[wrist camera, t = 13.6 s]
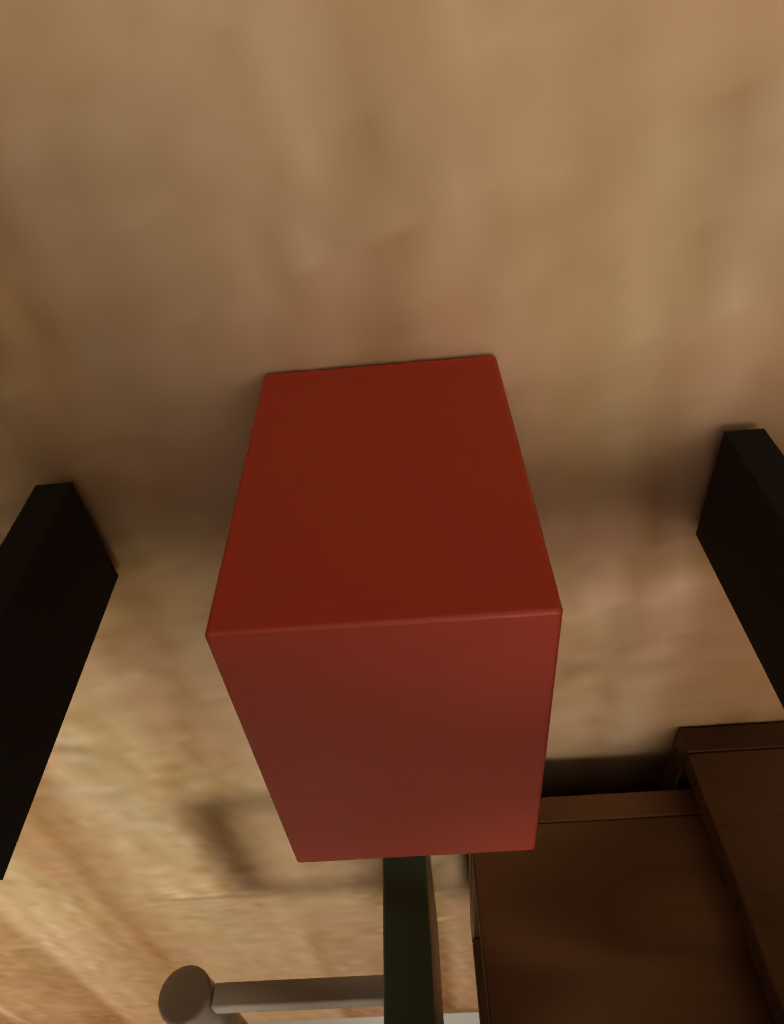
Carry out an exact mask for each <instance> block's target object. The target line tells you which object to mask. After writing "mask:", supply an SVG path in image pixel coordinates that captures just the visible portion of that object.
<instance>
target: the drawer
mask: <svg viewBox="0 0 784 1024" xmlns="http://www.w3.org/2000/svg"><path fill="white" fill-rule="evenodd" d="M469 884H470V922H471V934H472V942H473V955H474V966H475V976H476V987H477V998H478V1008H479V1019H480V1024H775V1021H774V1018H773V1016H772V1013H771V1010H770V1007H769V1004H768V1002H767V999H766V996H765V993H764V990H763V987H762V985H761V982H760V979H759V976H758V973H757V971H756V968H755V965H754V962H753V959H752V957H751V954H750V951H749V948H748V945H747V943H746V940H745V937H744V934H743V931H742V929H741V926H740V923H739V920H738V917H737V915H736V912H735V909H734V906H733V903H732V901H731V898H730V895H729V892H728V889H727V886H726V884H725V881H724V878H723V875H722V872H721V870H720V867H719V864H718V861H717V858H716V856H715V853H714V850H713V847H712V844H711V842H710V839H709V836H708V833H707V830H706V828H705V825H704V822H703V819H702V816H701V814H700V811H699V808H698V805H697V802H696V799H695V797H694V794H693V791H692V789H678V790H661V791H644V792H627V793H610V794H593V795H576V796H559V797H541V799H540V808H539V816H538V825H537V833H536V842H535V848H534V849H532V850H517V851H499V852H481V853H469ZM383 957H384V975H369V976H348V977H328V978H307V979H286V980H266V981H245V982H225V983H216V984H215V983H214V982H213V980H212V979H211V978H210V977H209V976H208V974H207V973H206V972H205V971H204V970H203V969H202V968H200V967H198V966H194V965H188V966H183V967H181V968H179V969H177V970H176V971H174V972H173V973H172V974H171V975H170V976H169V977H168V978H167V979H166V981H165V983H164V984H163V986H162V988H161V991H160V995H159V1001H158V1006H159V1012H160V1015H161V1017H162V1018H163V1020H164V1021H165V1022H166V1023H167V1024H248V1023H247V1022H246V1021H245V1019H244V1018H243V1017H242V1016H241V1015H240V1013H246V1012H268V1011H289V1010H310V1009H332V1008H353V1007H374V1006H384V1024H444V1019H443V1002H442V986H441V970H440V954H439V938H438V922H437V913H436V904H435V895H434V886H433V878H432V869H431V860H430V855H427V856H409V857H391V858H383Z"/></svg>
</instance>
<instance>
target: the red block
mask: <svg viewBox="0 0 784 1024" xmlns="http://www.w3.org/2000/svg"><path fill="white" fill-rule="evenodd" d="M562 613H563V609H562V605H561V601H560V598H559V594H558V590H557V586H556V583H555V579H554V575H553V571H552V567H551V564H550V560H549V556H548V552H547V549H546V545H545V541H544V537H543V533H542V530H541V526H540V522H539V518H538V515H537V511H536V507H535V503H534V499H533V496H532V492H531V488H530V484H529V481H528V477H527V473H526V469H525V465H524V462H523V458H522V454H521V450H520V447H519V443H518V439H517V435H516V431H515V428H514V424H513V420H512V416H511V413H510V409H509V405H508V401H507V397H506V394H505V390H504V386H503V382H502V379H501V375H500V371H499V367H498V364H497V360H496V358H495V356H482V357H470V358H459V359H447V360H435V361H423V362H411V363H399V364H387V365H375V366H363V367H352V368H340V369H328V370H316V371H304V372H292V373H280V374H268V375H265V376H264V380H263V384H262V389H261V393H260V397H259V402H258V406H257V410H256V415H255V419H254V423H253V428H252V432H251V437H250V441H249V445H248V450H247V454H246V458H245V463H244V467H243V471H242V476H241V480H240V484H239V489H238V493H237V498H236V502H235V506H234V511H233V515H232V519H231V524H230V528H229V532H228V537H227V541H226V546H225V550H224V554H223V559H222V563H221V567H220V572H219V576H218V580H217V585H216V589H215V593H214V598H213V602H212V607H211V611H210V615H209V620H208V624H207V628H206V633H205V637H206V640H207V642H208V644H209V647H210V649H211V652H212V654H213V657H214V659H215V661H216V664H217V666H218V669H219V671H220V674H221V676H222V678H223V681H224V683H225V686H226V688H227V691H228V693H229V696H230V698H231V700H232V703H233V705H234V708H235V710H236V713H237V715H238V717H239V720H240V722H241V725H242V727H243V730H244V732H245V735H246V737H247V739H248V742H249V744H250V747H251V749H252V752H253V754H254V756H255V759H256V761H257V764H258V766H259V769H260V771H261V773H262V776H263V778H264V781H265V783H266V786H267V788H268V791H269V793H270V795H271V798H272V800H273V803H274V805H275V808H276V810H277V812H278V815H279V817H280V820H281V822H282V825H283V827H284V830H285V832H286V834H287V837H288V839H289V842H290V844H291V847H292V849H293V851H294V854H295V856H296V859H297V861H298V862H319V861H337V860H355V859H373V858H391V857H409V856H427V855H445V854H463V853H481V852H499V851H517V850H532V849H534V848H535V842H536V833H537V825H538V816H539V808H540V799H541V791H542V782H543V774H544V765H545V757H546V749H547V740H548V732H549V723H550V715H551V706H552V698H553V689H554V681H555V672H556V664H557V655H558V647H559V638H560V630H561V621H562Z"/></svg>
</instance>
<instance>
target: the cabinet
mask: <svg viewBox="0 0 784 1024" xmlns="http://www.w3.org/2000/svg"><path fill="white" fill-rule="evenodd" d="M678 789H692V791H693V794H694V797H695V799H696V802H697V805H698V808H699V811H700V814H701V816H702V819H703V822H704V825H705V828H706V830H707V833H708V836H709V839H710V842H711V844H712V847H713V850H714V853H715V856H716V858H717V861H718V864H719V867H720V870H721V872H722V875H723V878H724V881H725V884H726V886H727V889H728V892H729V895H730V898H731V901H732V903H733V906H734V909H735V912H736V915H737V917H738V920H739V923H740V926H741V929H742V931H743V934H744V937H745V940H746V943H747V945H748V948H749V951H750V954H751V957H752V959H753V962H754V965H755V968H756V971H757V973H758V976H759V979H760V982H761V985H762V987H763V990H764V993H765V996H766V999H767V1002H768V1004H769V1007H770V1010H771V1013H772V1016H773V1018H774V1021H775V1024H784V722H779V723H763V724H746V725H730V726H714V727H698V728H682V729H679V732H678V735H677V738H676V741H675V744H674V747H673V749H672V752H671V755H670V758H669V761H668V764H667V767H666V770H665V773H664V776H663V779H662V781H661V784H660V787H659V790H658V791H661V790H678Z"/></svg>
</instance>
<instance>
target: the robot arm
mask: <svg viewBox="0 0 784 1024" xmlns="http://www.w3.org/2000/svg"><path fill="white" fill-rule="evenodd" d="M696 536H697V538H698V539H699V541H700V543H701V545H702V547H703V549H704V551H705V553H706V555H707V557H708V559H709V561H710V563H711V565H712V567H713V569H714V571H715V573H716V575H717V577H718V579H719V581H720V583H721V585H722V587H723V589H724V591H725V593H726V595H727V597H728V599H729V601H730V603H731V605H732V607H733V609H734V611H735V613H736V615H737V617H738V619H739V621H740V623H741V625H742V627H743V629H744V631H745V633H746V634H747V636H748V638H749V640H750V642H751V644H752V646H753V648H754V650H755V652H756V654H757V656H758V658H759V660H760V662H761V664H762V666H763V668H764V670H765V672H766V674H767V676H768V678H769V680H770V682H771V684H772V686H773V688H774V690H775V692H776V694H777V696H778V698H779V700H780V702H781V704H782V706H783V708H784V455H783V454H782V453H781V451H780V450H779V448H778V447H777V446H776V444H775V443H774V442H773V440H772V439H771V438H770V436H769V435H768V434H767V432H766V431H765V429H752V430H739V431H726V432H724V434H723V438H722V441H721V445H720V448H719V452H718V456H717V459H716V463H715V466H714V470H713V474H712V477H711V481H710V485H709V488H708V492H707V495H706V499H705V503H704V506H703V510H702V514H701V517H700V521H699V524H698V528H697V532H696ZM117 578H118V574H117V572H116V570H115V568H114V566H113V564H112V562H111V560H110V558H109V556H108V554H107V551H106V549H105V547H104V545H103V543H102V541H101V539H100V537H99V535H98V533H97V531H96V529H95V527H94V525H93V523H92V521H91V519H90V517H89V515H88V513H87V511H86V509H85V507H84V505H83V503H82V501H81V499H80V497H79V495H78V493H77V490H76V488H75V486H74V484H73V482H72V483H59V484H46V485H36V486H35V488H34V489H33V491H32V493H31V495H30V496H29V498H28V500H27V501H26V503H25V505H24V507H23V508H22V510H21V512H20V514H19V515H18V517H17V519H16V520H15V522H14V524H13V526H12V527H11V529H10V531H9V532H8V534H7V536H6V538H5V539H4V541H3V543H2V544H1V546H0V880H3V878H4V875H5V872H6V870H7V867H8V864H9V862H10V859H11V857H12V854H13V851H14V849H15V846H16V843H17V841H18V838H19V836H20V833H21V830H22V828H23V825H24V822H25V820H26V817H27V815H28V812H29V809H30V807H31V804H32V801H33V799H34V796H35V794H36V791H37V788H38V786H39V783H40V780H41V778H42V775H43V773H44V770H45V767H46V765H47V762H48V759H49V757H50V754H51V752H52V749H53V746H54V744H55V741H56V738H57V736H58V733H59V731H60V728H61V725H62V723H63V720H64V717H65V715H66V712H67V710H68V707H69V704H70V702H71V699H72V696H73V694H74V691H75V689H76V686H77V683H78V681H79V678H80V675H81V673H82V670H83V667H84V665H85V662H86V660H87V657H88V654H89V652H90V649H91V646H92V644H93V641H94V639H95V636H96V633H97V631H98V628H99V625H100V623H101V620H102V618H103V615H104V612H105V610H106V607H107V604H108V602H109V599H110V597H111V594H112V591H113V589H114V586H115V583H116V581H117Z"/></svg>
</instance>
